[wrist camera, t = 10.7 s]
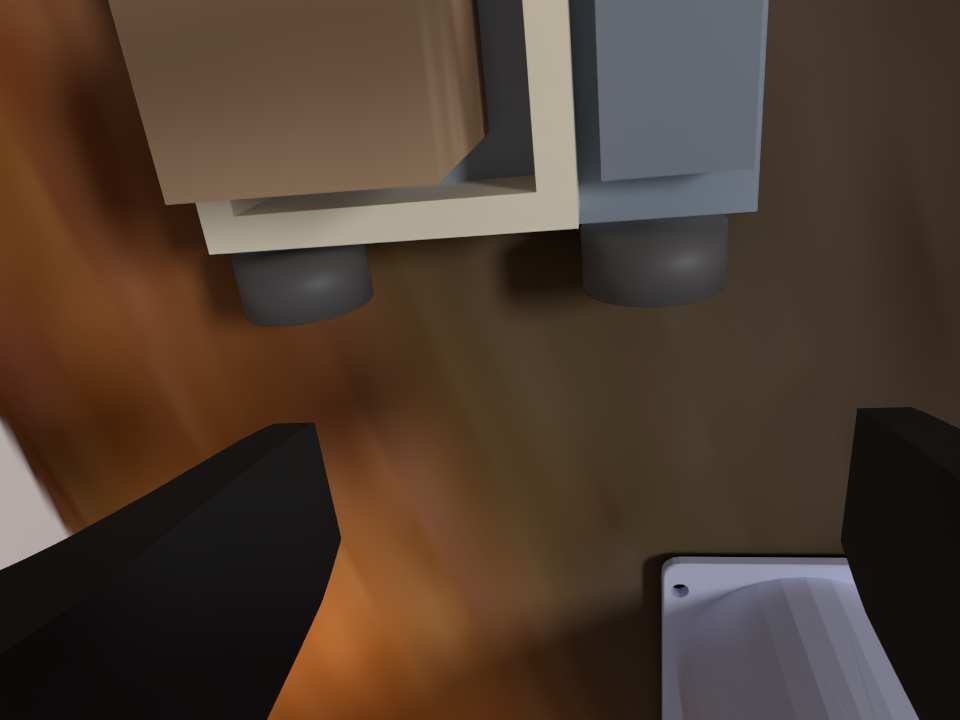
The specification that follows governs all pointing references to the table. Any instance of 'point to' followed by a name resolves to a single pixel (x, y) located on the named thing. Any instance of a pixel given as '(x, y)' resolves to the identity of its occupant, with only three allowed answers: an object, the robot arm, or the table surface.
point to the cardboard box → (303, 93)
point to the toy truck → (551, 161)
